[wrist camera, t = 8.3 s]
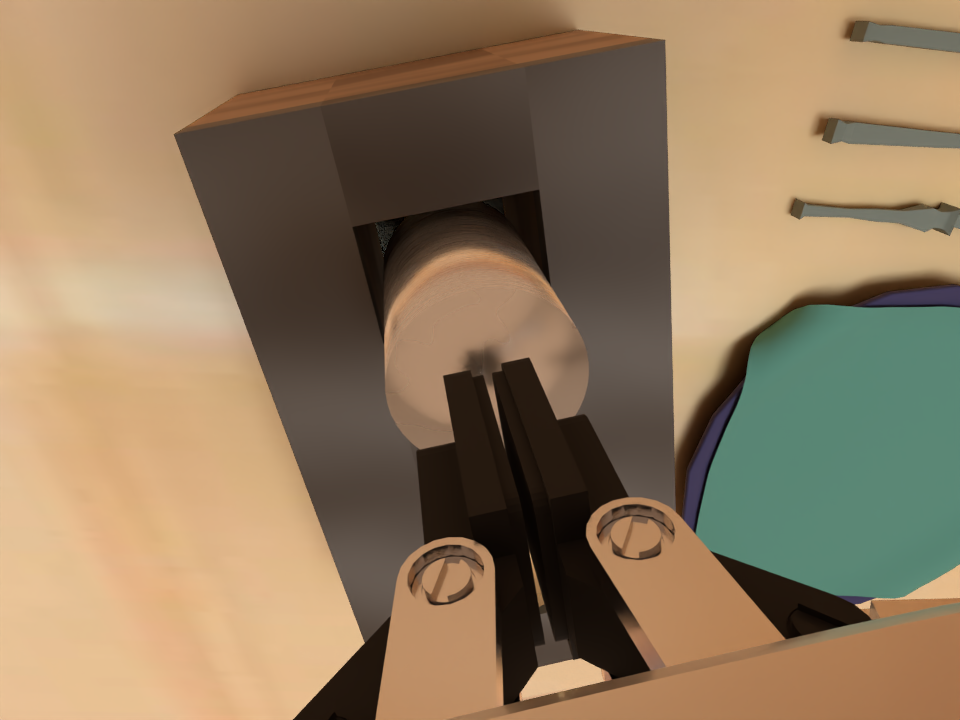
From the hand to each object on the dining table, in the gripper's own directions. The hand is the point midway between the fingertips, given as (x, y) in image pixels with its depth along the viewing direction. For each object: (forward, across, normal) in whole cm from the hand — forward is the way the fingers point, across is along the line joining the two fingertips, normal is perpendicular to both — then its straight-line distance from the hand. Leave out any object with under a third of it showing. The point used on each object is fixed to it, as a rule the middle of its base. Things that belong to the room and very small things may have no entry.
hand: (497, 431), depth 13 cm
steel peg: (+10, 0, 0) cm, 10 cm away
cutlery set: (+15, -20, +12) cm, 28 cm away
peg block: (+15, 0, +5) cm, 16 cm away
